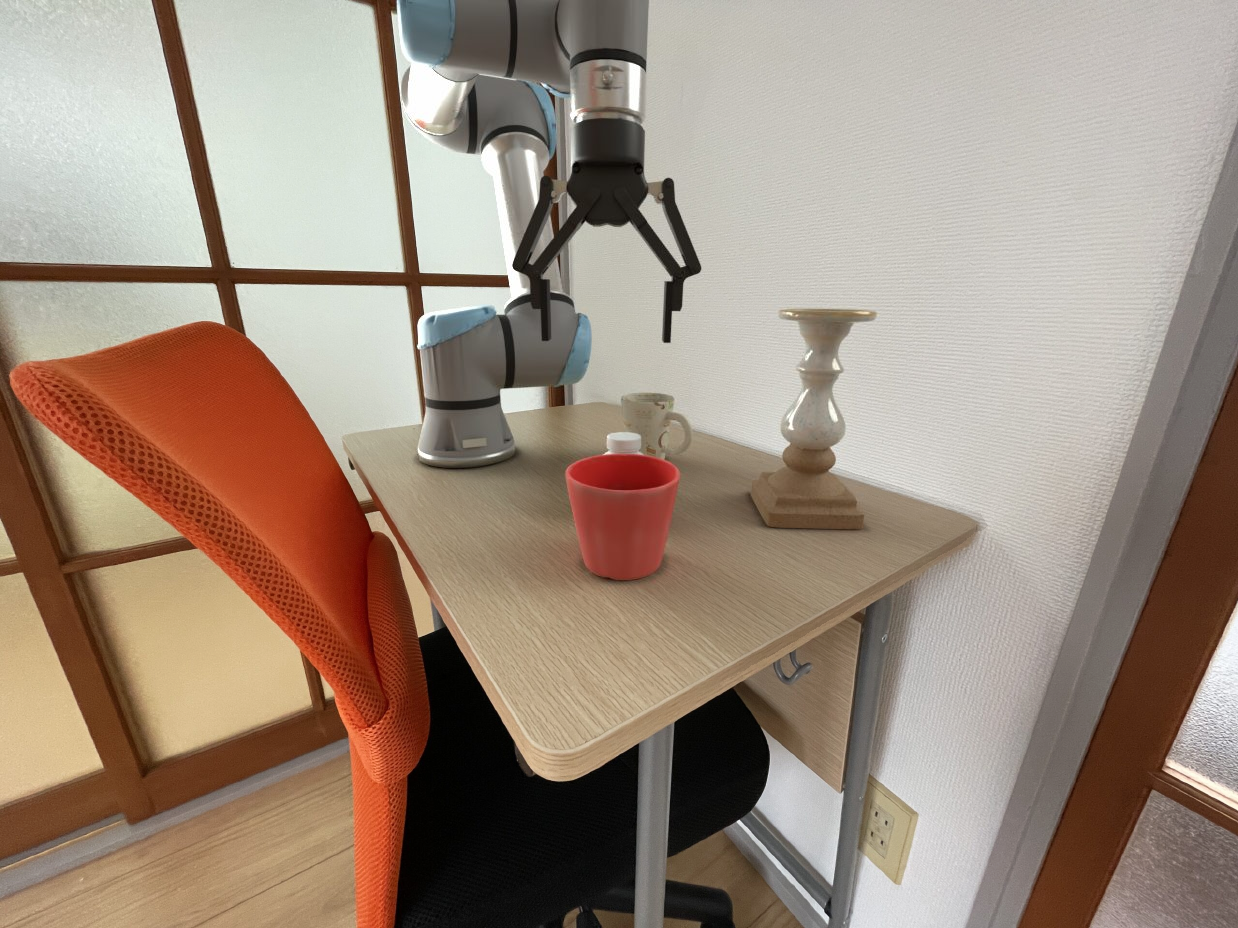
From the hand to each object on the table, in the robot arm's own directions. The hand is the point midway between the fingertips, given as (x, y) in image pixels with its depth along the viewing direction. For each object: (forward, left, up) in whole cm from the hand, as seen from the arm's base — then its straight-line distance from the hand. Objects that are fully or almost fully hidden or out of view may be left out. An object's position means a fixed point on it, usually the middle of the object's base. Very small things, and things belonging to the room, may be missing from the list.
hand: (606, 341), depth 60 cm
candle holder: (+15, +19, -21) cm, 32 cm away
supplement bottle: (+3, 0, -21) cm, 21 cm away
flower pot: (+12, -7, -21) cm, 25 cm away
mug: (-11, +18, -21) cm, 29 cm away
